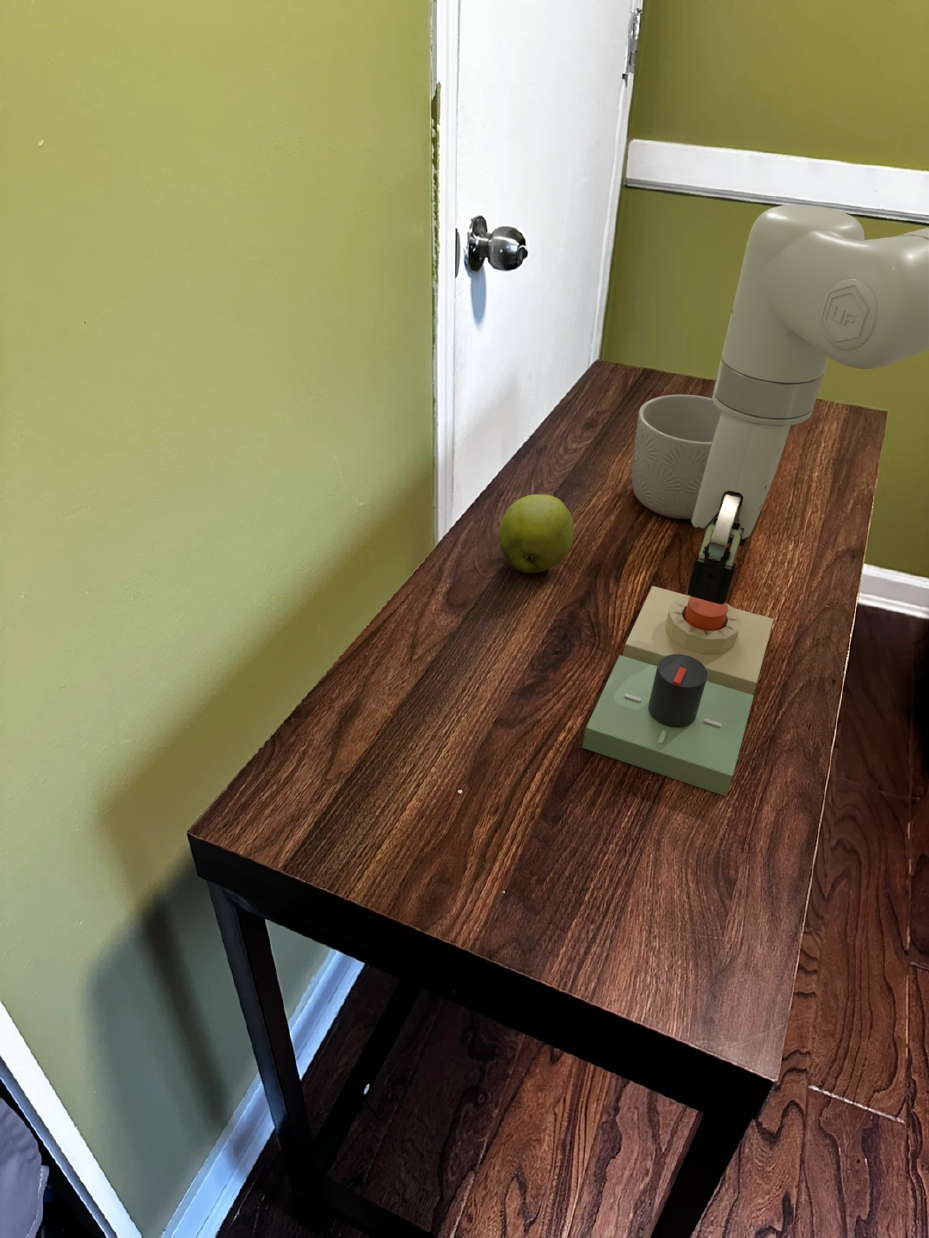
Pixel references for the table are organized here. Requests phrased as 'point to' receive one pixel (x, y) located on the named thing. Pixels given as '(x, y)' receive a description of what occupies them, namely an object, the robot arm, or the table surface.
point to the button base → (701, 640)
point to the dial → (677, 690)
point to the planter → (673, 452)
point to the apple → (536, 533)
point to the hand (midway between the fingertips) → (717, 568)
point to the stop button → (705, 614)
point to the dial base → (669, 729)
